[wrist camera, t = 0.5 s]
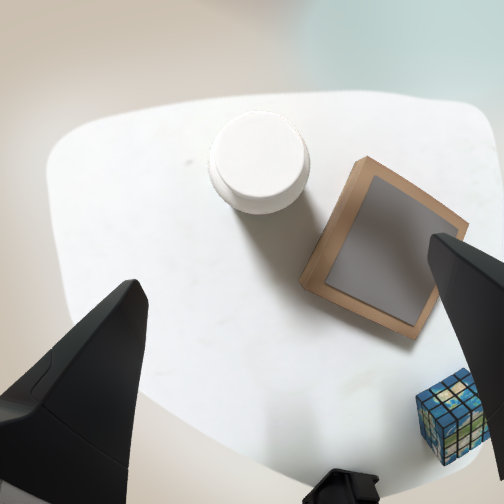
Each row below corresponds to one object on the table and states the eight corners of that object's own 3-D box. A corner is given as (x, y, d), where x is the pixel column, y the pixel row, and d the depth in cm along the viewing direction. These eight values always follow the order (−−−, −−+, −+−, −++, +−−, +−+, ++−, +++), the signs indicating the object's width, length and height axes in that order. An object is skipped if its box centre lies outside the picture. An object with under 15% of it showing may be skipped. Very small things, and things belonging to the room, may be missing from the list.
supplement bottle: (310, 177, 23) (346, 153, 13) (260, 229, 23) (263, 241, 14) (256, 128, 22) (257, 74, 13) (206, 180, 23) (173, 157, 13)
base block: (401, 328, 24) (416, 341, 21) (298, 280, 24) (304, 289, 21) (451, 222, 23) (471, 223, 20) (355, 161, 23) (368, 155, 20)
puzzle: (466, 407, 25) (493, 435, 19) (420, 433, 26) (443, 467, 20) (463, 366, 25) (497, 393, 19) (414, 395, 25) (442, 429, 19)
